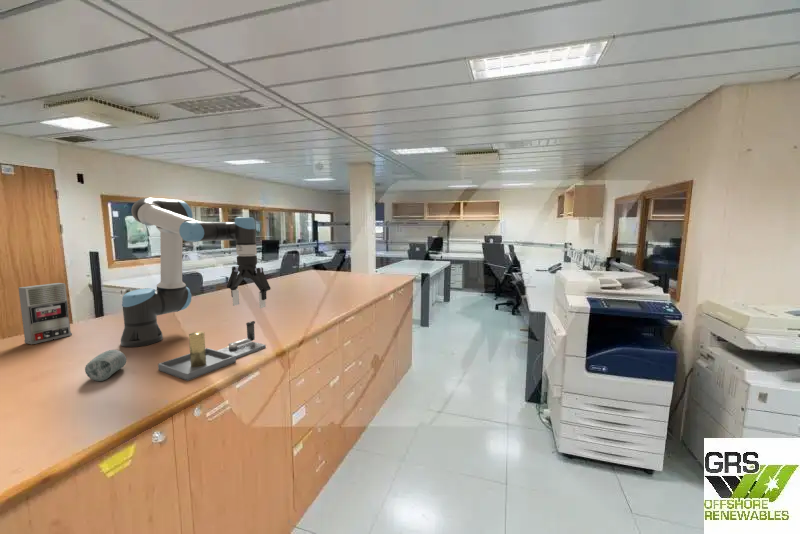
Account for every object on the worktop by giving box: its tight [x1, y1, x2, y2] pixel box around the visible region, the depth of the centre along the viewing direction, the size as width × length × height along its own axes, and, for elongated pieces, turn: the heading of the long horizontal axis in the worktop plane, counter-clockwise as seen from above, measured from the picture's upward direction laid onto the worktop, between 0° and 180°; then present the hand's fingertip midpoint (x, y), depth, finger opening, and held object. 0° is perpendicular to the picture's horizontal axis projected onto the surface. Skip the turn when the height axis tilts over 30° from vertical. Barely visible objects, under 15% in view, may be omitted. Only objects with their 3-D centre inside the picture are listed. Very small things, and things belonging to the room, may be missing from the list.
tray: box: [157, 347, 237, 382], centre depth 126 cm, size 18×19×2 cm
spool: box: [84, 349, 127, 382], centre depth 118 cm, size 14×10×10 cm
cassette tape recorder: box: [18, 282, 73, 345], centre depth 152 cm, size 14×6×25 cm, turn 160°
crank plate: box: [217, 341, 267, 360], centre depth 142 cm, size 12×16×1 cm
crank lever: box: [228, 320, 256, 350], centre depth 145 cm, size 13×3×9 cm, turn 153°
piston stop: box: [188, 331, 206, 367], centre depth 126 cm, size 5×5×12 cm
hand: (249, 306), depth 139 cm, fingers open, 13 cm apart
